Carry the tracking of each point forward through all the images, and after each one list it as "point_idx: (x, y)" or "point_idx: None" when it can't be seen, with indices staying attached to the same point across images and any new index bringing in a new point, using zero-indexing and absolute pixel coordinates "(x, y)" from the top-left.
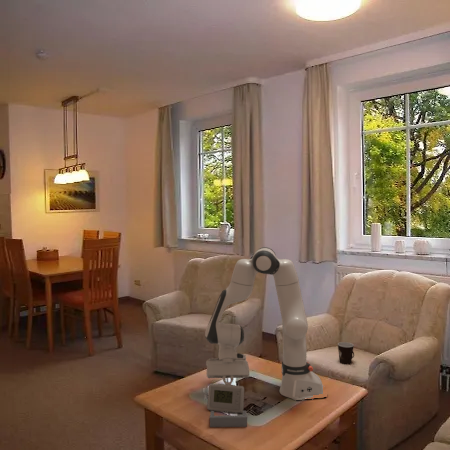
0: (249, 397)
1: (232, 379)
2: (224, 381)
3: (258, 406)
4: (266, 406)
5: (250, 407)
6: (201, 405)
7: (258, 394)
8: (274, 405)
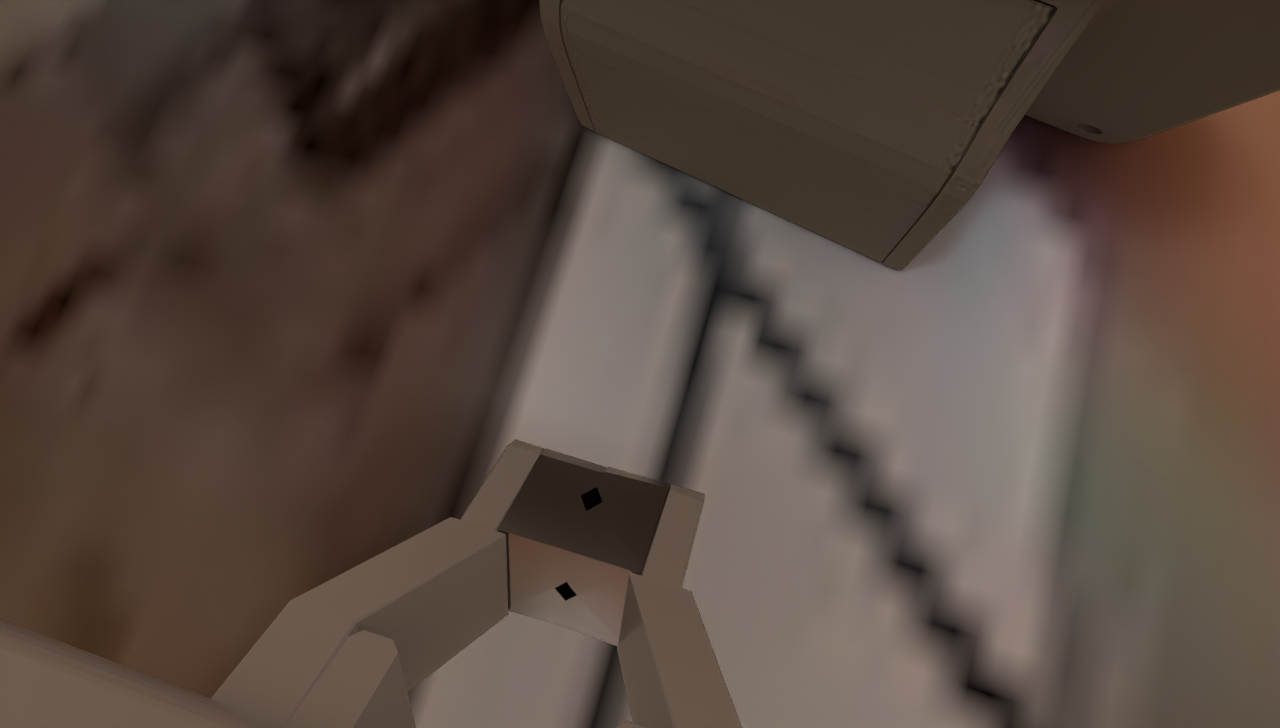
0: (273, 392)
1: (361, 571)
2: (696, 612)
3: (270, 55)
4: (164, 31)
5: (396, 50)
6: (1256, 323)
7: (88, 460)
8: (49, 36)
